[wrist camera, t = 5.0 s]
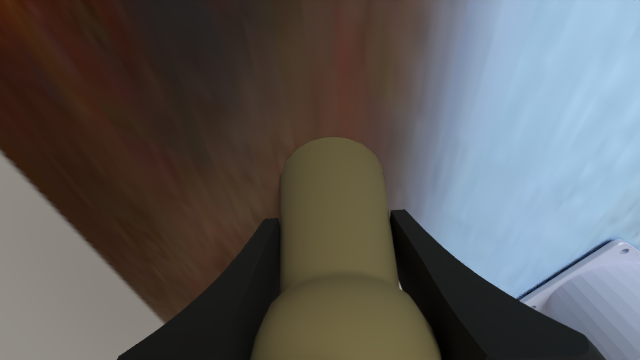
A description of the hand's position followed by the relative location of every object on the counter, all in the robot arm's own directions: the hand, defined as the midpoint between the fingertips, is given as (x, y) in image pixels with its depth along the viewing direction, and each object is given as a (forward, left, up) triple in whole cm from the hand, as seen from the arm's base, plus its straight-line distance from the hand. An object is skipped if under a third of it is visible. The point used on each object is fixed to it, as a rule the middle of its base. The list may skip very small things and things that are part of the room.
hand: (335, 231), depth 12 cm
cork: (0, 0, -4) cm, 4 cm away
